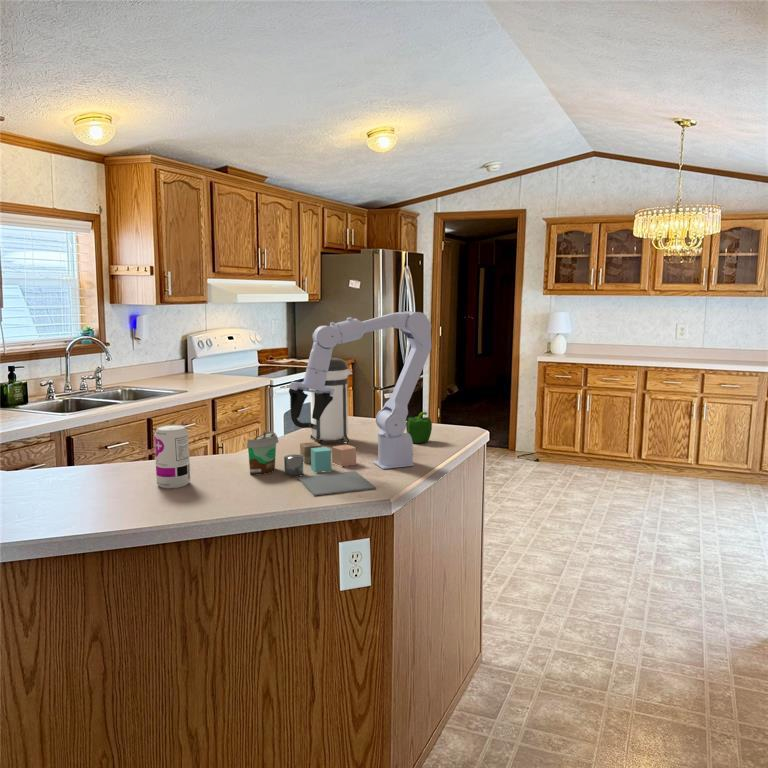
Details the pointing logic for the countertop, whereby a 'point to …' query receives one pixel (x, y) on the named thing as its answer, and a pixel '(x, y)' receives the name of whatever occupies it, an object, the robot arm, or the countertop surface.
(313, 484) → the mat
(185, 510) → the countertop surface
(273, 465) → the food container
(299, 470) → the metal canister
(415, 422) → the bell pepper
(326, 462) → the teal block
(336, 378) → the coffee press
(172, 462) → the supplement can
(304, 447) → the walnut block
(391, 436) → the robot arm
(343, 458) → the terracotta block
